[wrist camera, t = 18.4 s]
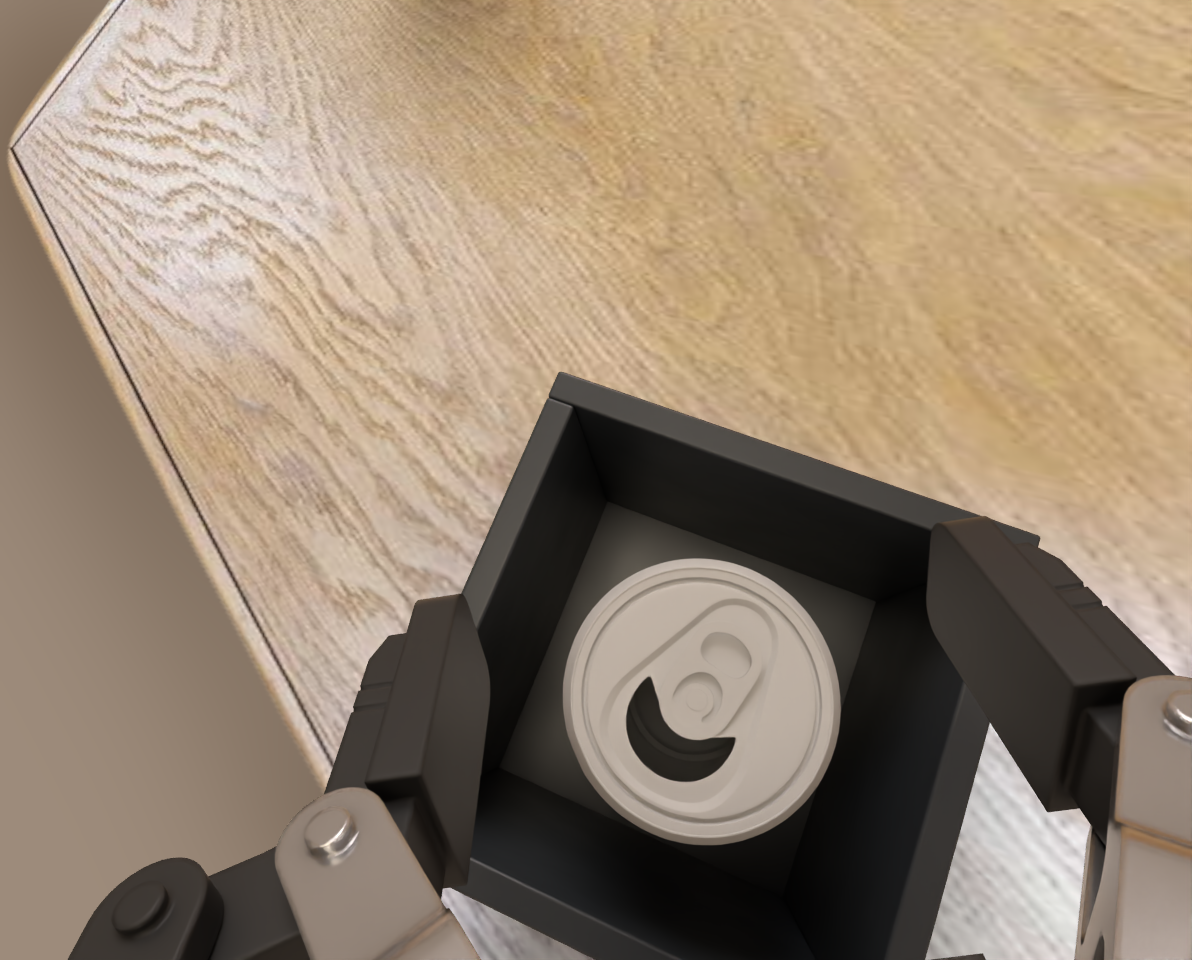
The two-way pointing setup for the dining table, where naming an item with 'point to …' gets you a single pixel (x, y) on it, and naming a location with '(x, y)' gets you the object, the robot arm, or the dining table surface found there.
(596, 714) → the beverage can
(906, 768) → the trash bin
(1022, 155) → the dining table surface
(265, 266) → the dining table surface
